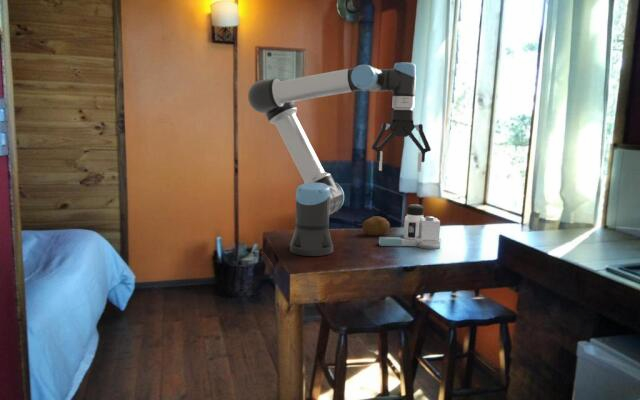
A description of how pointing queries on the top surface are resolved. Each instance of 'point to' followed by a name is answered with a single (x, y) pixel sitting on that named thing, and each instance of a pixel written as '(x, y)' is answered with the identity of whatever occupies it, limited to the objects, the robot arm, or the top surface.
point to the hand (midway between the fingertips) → (399, 171)
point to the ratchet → (409, 242)
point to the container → (413, 221)
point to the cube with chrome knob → (429, 228)
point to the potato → (375, 226)
